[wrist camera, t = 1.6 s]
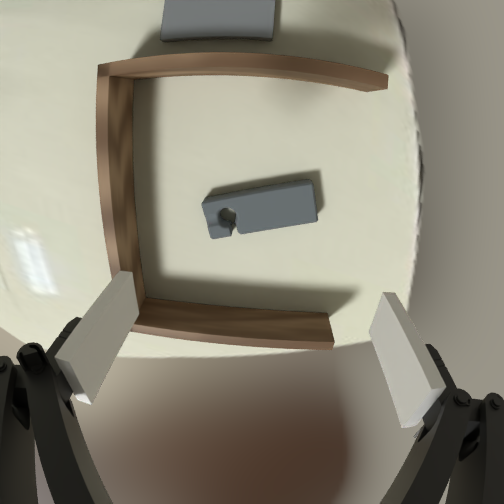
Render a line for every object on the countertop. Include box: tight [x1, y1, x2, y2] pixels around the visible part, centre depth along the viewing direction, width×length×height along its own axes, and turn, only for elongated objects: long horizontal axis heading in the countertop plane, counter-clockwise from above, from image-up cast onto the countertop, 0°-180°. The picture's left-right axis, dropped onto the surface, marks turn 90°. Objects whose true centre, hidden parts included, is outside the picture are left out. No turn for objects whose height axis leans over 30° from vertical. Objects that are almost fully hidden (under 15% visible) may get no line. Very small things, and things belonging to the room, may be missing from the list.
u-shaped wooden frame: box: [96, 52, 388, 350], centre depth 26 cm, size 27×23×5 cm
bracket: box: [202, 179, 318, 239], centre depth 28 cm, size 4×10×2 cm, turn 101°
